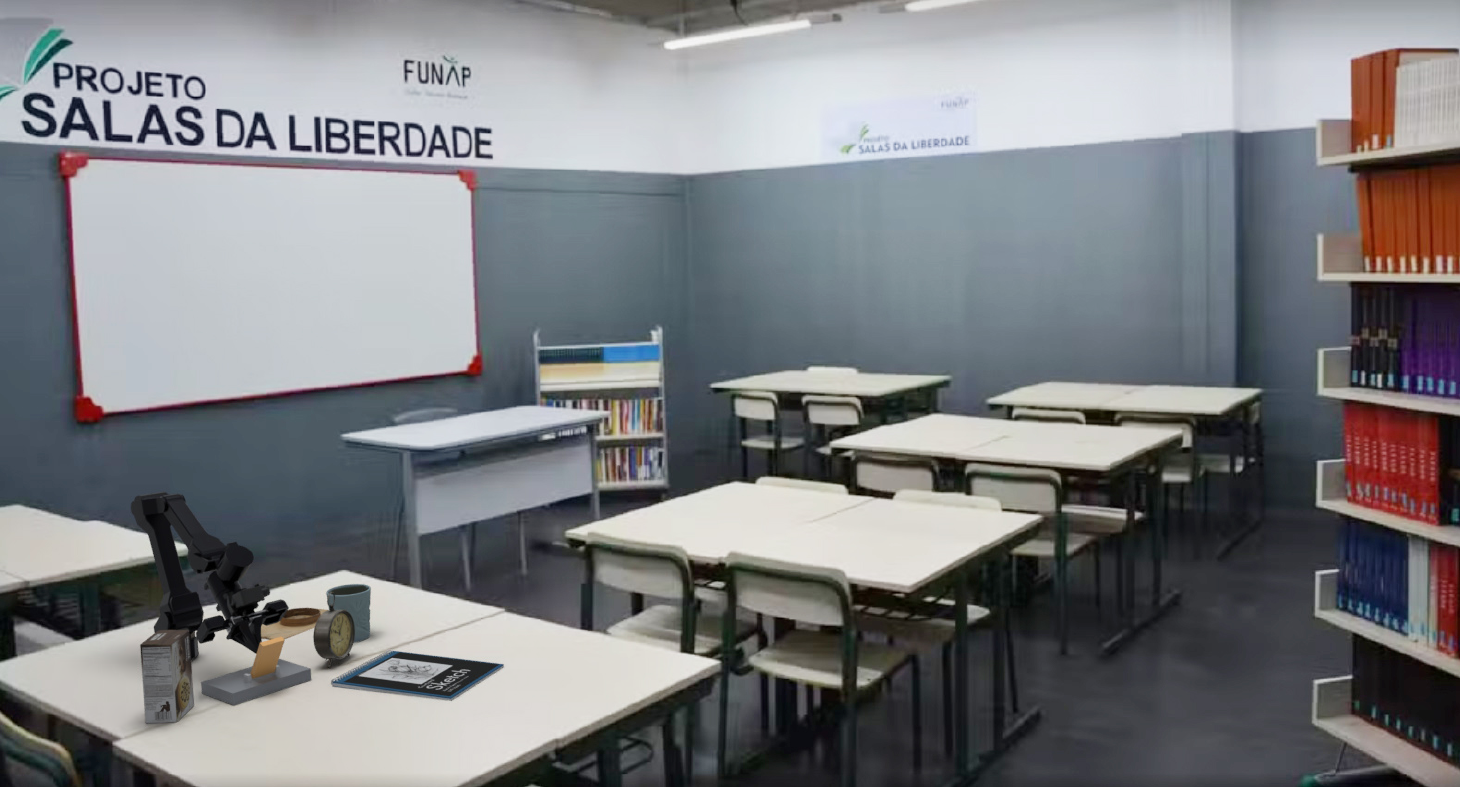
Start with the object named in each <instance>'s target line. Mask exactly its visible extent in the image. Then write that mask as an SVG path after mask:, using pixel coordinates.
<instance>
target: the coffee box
mask: <svg viewBox="0 0 1460 787" xmlns="http://www.w3.org/2000/svg"><path fill="white" fill-rule="evenodd" d="M139 646H140V659H141V660H140V661H141V662H140V663H141V676H142V687H143V688H142V691H143V703H144V704H143V705H144V722H145V723H146V724H160V723H162V724H164V723H165V724H166V723H177V722H179V721H180V720H181V719H182V718H183V717H184V716H185V714H188V712H189V711H190V710H191V709H192V708H193V707H194V706H195V696H194V681H193V667H192V666H193V665H192V661H191V651H190V637H189V630H159V631H157V632H156V633H155V632H154V633H153V634H152V635H150V636H149V637H148V638H147V639H146V640H144V641H143V642H142V643H141V644H139Z"/></svg>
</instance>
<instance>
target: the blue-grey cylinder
mask: <svg viewBox="0 0 1460 787" xmlns="http://www.w3.org/2000/svg"><path fill="white" fill-rule="evenodd" d="M371 590H372V588H371V586H370V585H368V584H365V583H351V584H342V585H338V586H335V587H331V588H329V589H327V591H325V592H326V593H325V595H326V599H327V598H328V595H329V593H330V592H333V593H334V594H335V603H334V606H333V608H334V610H346V611H348V612H349V613H350V614H351V616H352V618H353V621H354V625H355V638H354V643H358V642H362V641H365V640H367V639H369V637H370V636H371V623H370V620H371V609H370V607H371V597H372V596H371V595H372V594H371V593H372V591H371ZM333 601H334V596H333V594H332V593H331V594H330V596H329V601H328V603H329V605H330V604H333ZM328 610H330V607H329V606H328Z"/></svg>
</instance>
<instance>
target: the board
mask: <svg viewBox="0 0 1460 787" xmlns="http://www.w3.org/2000/svg"><path fill="white" fill-rule="evenodd" d="M327 610H328V609H324V608H323V609H322V608H315V607H295V608H290V609H288V610H287V612H286V613H285V615H284V616H283V618H282V619H281V620H280V621H279V622H278V623H275V624H271V625H267V626H266V625H264V624H262V626H261V639H262V640H267V641H268V640H271V639H275V638H278V637H283V639H284V640H287V639H290V638H293V637H294V636H297V635H299V634H303V633H304V632H307V631H310V630H312V629H313V630H314V628H315V624H316V622H317V620H318V618H319V617H320V615H321V614H322V613H323V612H325V611H327Z"/></svg>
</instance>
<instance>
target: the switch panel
mask: <svg viewBox="0 0 1460 787" xmlns="http://www.w3.org/2000/svg"><path fill="white" fill-rule="evenodd" d="M252 667H253V665H252V666H249V667H245V668H241V669H239V670H236V671H233V672H229V673H226V674H223V675H219V676H217V677H213V678H209V679H206V680H203V681H201V682H200V684H201V695H204V696H208V697H211V698H212V699H213V698H214V699H215V700H218V701H220V702H224V703H226V704H229V705H232V706H236V705H238V704H242V703H244V702H248V701H251V700H254V699H257V698H261V697H263V696H266V695H269V694H273V693H276V692H278V691H282V690H285V689H289V688H290V687H293V686H297V685H300V684H303V683H306V682H309V681H312V669H311V668H309V667H307V666H304V665H301V664H297V663H295V662H291V661H288V660H286V659H285V660H284V659H282V658H279V660H278V663H277V666H276V669H275V672H273V673H270V674H267V675H264V676H260V677H257V678H254V679H253V678H252V677H251V674H250V673H251V670H252Z"/></svg>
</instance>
